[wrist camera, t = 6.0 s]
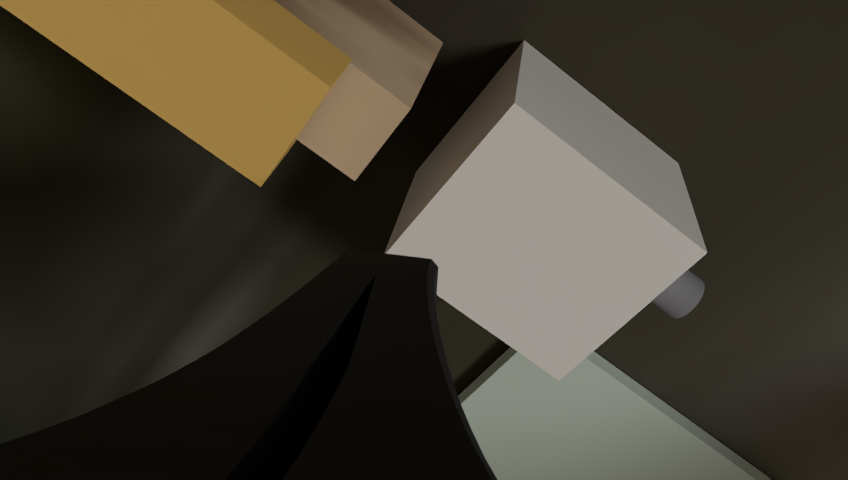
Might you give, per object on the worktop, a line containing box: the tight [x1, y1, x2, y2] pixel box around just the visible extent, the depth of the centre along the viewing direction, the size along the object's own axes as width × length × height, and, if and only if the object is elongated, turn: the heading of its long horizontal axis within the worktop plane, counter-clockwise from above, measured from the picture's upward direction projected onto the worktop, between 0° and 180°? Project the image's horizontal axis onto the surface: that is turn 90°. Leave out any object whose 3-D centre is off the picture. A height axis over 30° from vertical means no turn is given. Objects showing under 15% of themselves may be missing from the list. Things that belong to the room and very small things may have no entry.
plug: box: [384, 40, 707, 381], centre depth 18 cm, size 7×4×5 cm, turn 54°
